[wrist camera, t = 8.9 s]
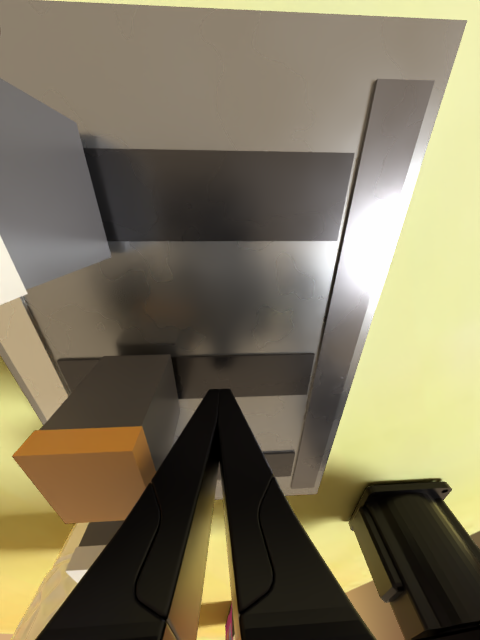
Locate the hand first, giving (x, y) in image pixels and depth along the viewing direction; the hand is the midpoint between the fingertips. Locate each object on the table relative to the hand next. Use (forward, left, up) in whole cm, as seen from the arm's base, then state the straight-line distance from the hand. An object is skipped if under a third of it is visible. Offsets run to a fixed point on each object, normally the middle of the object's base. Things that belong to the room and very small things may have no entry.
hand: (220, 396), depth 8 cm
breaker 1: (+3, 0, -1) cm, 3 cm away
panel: (+1, 0, -3) cm, 3 cm away
